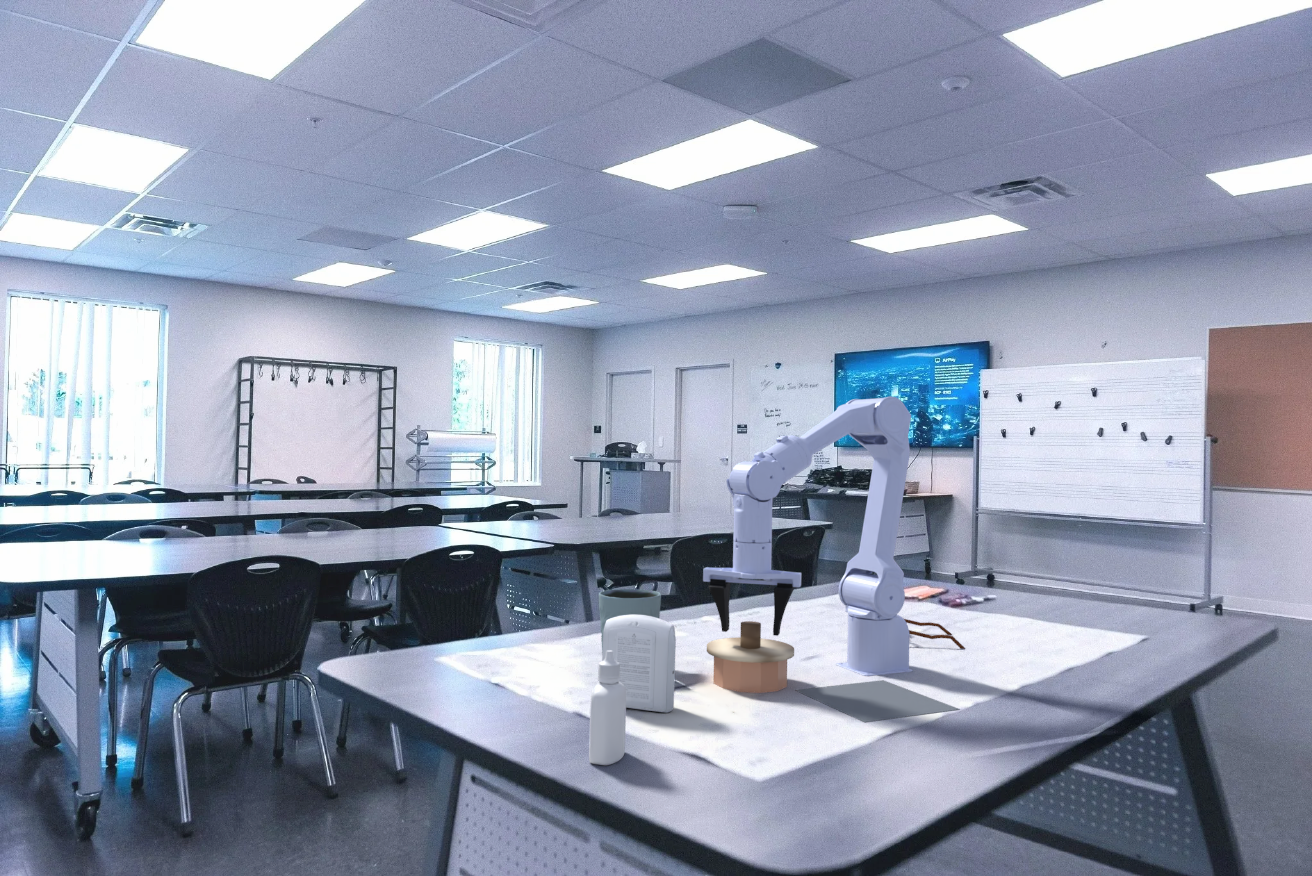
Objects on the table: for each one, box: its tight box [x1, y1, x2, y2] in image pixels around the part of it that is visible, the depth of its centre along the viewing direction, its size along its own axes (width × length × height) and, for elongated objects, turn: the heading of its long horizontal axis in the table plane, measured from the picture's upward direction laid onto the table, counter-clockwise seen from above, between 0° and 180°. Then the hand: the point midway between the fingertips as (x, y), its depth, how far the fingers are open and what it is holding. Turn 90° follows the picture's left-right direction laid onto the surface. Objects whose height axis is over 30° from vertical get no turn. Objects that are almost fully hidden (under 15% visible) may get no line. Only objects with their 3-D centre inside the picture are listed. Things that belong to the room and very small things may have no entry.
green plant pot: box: [598, 588, 662, 659], centre depth 139 cm, size 10×10×12 cm
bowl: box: [712, 656, 788, 694], centre depth 130 cm, size 11×11×5 cm
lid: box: [706, 620, 795, 663], centre depth 130 cm, size 13×13×4 cm
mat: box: [794, 679, 961, 723], centre depth 122 cm, size 16×16×1 cm
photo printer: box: [601, 615, 677, 714], centre depth 118 cm, size 10×4×12 cm, turn 72°
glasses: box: [903, 618, 966, 650], centre depth 165 cm, size 13×13×5 cm
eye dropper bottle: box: [588, 650, 627, 766], centre depth 98 cm, size 4×6×12 cm
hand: (750, 632), depth 130 cm, fingers open, 7 cm apart
